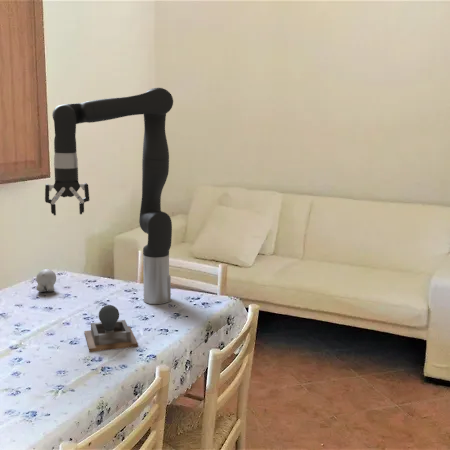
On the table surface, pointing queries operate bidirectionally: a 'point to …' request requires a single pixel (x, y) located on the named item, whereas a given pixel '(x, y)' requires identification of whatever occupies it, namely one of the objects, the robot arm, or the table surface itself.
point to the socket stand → (110, 337)
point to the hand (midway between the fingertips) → (67, 214)
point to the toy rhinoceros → (46, 280)
